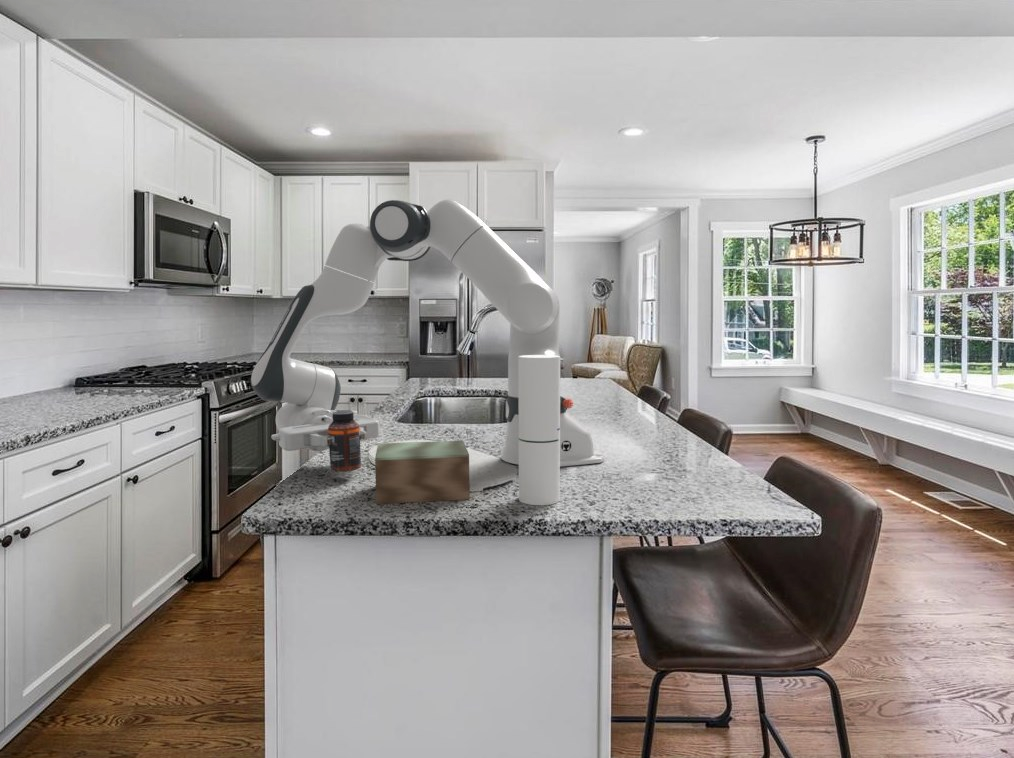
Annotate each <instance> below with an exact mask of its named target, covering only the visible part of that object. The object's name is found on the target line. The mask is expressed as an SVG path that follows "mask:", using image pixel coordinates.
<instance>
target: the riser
mask: <svg viewBox="0 0 1014 758" xmlns="http://www.w3.org/2000/svg"><path fill="white" fill-rule="evenodd" d="M374 456H375V457H374V462H375V463H374V464H375V465H374V467H375V469H374V470H375V471H374V472H375V500H376V501H375V502H376V505H379V504H398V503H399V504H400V503H401V504H402V503H403V504H405V503H420V502H421V503H422V502H423V503H424V502H439V501H440V502H441V501H443V502H444V501H460V500H461V501H462V500H470V489H471V488H470V487H471V486H470V453H469V451H468V449H467V447H466V444H465V442H464V440H444V441H443V440H441V441H440V440H439V441H437V440H436V441H416V442H415V441H412V442H411V441H410V442H387V443H386V442H384V443H382V442H381V443H377V447H376V451H375V455H374Z"/></svg>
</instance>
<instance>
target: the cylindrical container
mask: <svg viewBox="0 0 1014 758" xmlns="http://www.w3.org/2000/svg"><path fill="white" fill-rule="evenodd" d="M518 381H519V464H518V500H519V502H520V503H523V504H526V505H531V506H548V505H554V504H557V503H558V502H560V500H561V499H560V497H561V496H560V495H561V493H560V492H561V490H560V488H561V487H560V486H561V485H560V483H561V482H560V481H561V473H560V472H561V470H560V469H561V467H560V396H561V355H559V356H556V355H523V356H518Z"/></svg>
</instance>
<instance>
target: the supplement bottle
mask: <svg viewBox="0 0 1014 758" xmlns="http://www.w3.org/2000/svg"><path fill="white" fill-rule="evenodd" d="M353 418H354V414H353V411H338V412H334V413H333V418H332V419H333V422H332V423H331V424H330V425H329V427H328V435H329V436H331V437H332V441H331V442H332V445H331V446H329V449H328V451H329V465H330V466H329V468H330V470H332V471H334V472H338V473H345V472H352V471H356V470H358V469H360V468H361V467H362V452H361V451H362V450H361V441H360V432H359V424H358V423H357V422H355V421H354V419H353Z"/></svg>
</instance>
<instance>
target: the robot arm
mask: <svg viewBox="0 0 1014 758" xmlns="http://www.w3.org/2000/svg"><path fill="white" fill-rule="evenodd" d="M431 248H434V249H436V250H438V251H439V252H440V253H442V254H443V255H444V256H445V257H446V258H447V260H448V261H449V262H450V263H451V264H453V265H454V267H455V268H457V269H458V270H459V271H460V272H461V274H463V275H464V277H466V278H467V280H469V281H470V282H471V283H472V284H473V285H474V286H475V287H476V288H477V289H478V290H479V292H480V293H481V294H482V295H483V296H484V297H485V298H486V299H487V300H488V301H489V303H491V305H492V306H493V307H495V309H496V310H497V311H498V312H499V313H500V314H501V315H502V316H503V318H505V319H506V320H507V322H509V323H510V324H509V325H510V327H509V345H508V346H509V347H508V359H507V360H508V361H507V369H508V370H507V372H508V373H507V382H508V383H507V384H508V385H507V387H508V388H507V389H508V392H507V395H506V401H505V418H506V421H507V425H506V435H505V440H504V446H503V451H502V454H501V457H500V459H501V460H503V462H506V463H510V464H514V465H519V381H518V356H523V355H556V356H560V352H559V351H560V301H559V298H558V295H557V294H556V291H554V289H552V288H551V287H550V286H549V285H548V284H547V283H546V282H545V281H544V280H543V279H542V278H541V277H540V276H539V275H538V274H537V273H536V272H535V271H534V270H533V269H532V268H531V267H530V266H529V265H528V264H527V263H526V262H525V261H524V260H523V259H522V258H521V257H520V256H519V255H518V254H517V253H516V252H514V251H515V250H513V249H511V247H510V246H509V245H508V244H507V243H505V241H503V240H502V238H501V237H499V235H498V234H496V233H495V232H494V231H493V230H492V229H491V228H490V227H489V226H488V225H487V224H486V223H485V222H484V221H483V220H482V219H480V218H479V217H478V216H477V215H476V214H475V213H474V212H472V211H471V210H470V209H469V208H467V207H465V206H464V205H463V204H461V203H459V202H458V201H456V200H454V199H452V198H451V199H450V198H448V199H447V198H446V199H444V200H440V201H439V202H437V203H436V204H434V205H432V207H431V208H430V209H429V210H426V208H425V207H424V206H422V205H418V204H415V203H411V202H408V201H404V200H397V199H396V200H395V199H393V200H391V199H389V200H386V201H384V202H381V203H379V204H378V205H377V206H376V207H375V208H374V210H373V211H372V213H371V216H370V220H369V225H366V224H362V223H350V224H347V225H345V226H343V227H342V228H341V230H340V232H339V233H338V235H337V237H336V239H335V240H334V242H333V244H332V246H331V248H330V250H329V253H328V256H327V259H326V260H325V263H324V267H323V269H322V271H321V273H320V274H319V276H318V277H317V278H316V280H315V281H314V282H312V283H311V284H309V285H304V286H303V287H301V289H300V290H299V291H298V292H297V294H296V295H295V297H294V298H293V300H292V302H291V303H290V305H289V307H288V309H287V310H286V312H285V314H284V315H283V318H282V320H281V322H280V323H279V325H278V327H277V329H276V331H275V332H274V334H273V336H272V338H271V340H270V342H269V344H268V346H267V347H266V349H265V350H264V352H263V353H262V354H261V356H260V358H259V359H258V361H257V362H256V364H255V366H254V367H253V370H252V373H251V378H250V386H251V387H252V388H251V389H253V391H254V393H255V394H256V395H257V396H258V397H259V398H260V399H261V400H262V401H265V402H266V401H267V402H275V403H277V402H278V403H279V402H281V403H285V405H282V407H280V408H279V409H278V411H277V413H276V415H275V425H276V428H277V430H278V432H276V433H275V434H271V439H272V440H273V441H277V442H278V444H279V447H280V448H281V449H282V450H285V451H288V452H289V451H290V452H291V451H292V452H293V451H299V450H305V449H308V450H311V451H315V452H323V451H327V450H329V446H331V445H332V442H331V441H332V437H331V436H329V435H328V427H329V425H330V424H331V423H332V422H333V419H332V418H333V413H334V412H338V411H353V414H354V418H353V419H354V421H355V422H357V423H358V424H359V432H360V442H363V441H367V440H370V439H377V438H379V437H380V433H381V432H380V431H381V430H380V429H381V428H380V421H379V420H378V419H376V418H373V417H371V416H369V415H364V414H358V411H357V410H353V409H352V410H351V409H349V410H348V409H346V410H345V409H342V410H341V409H340V410H336V408H337V406H338V404H339V400H340V396H341V383H340V380H339V377H338V375H337V373H336V371H335V370H334V369H333V368H332V367H328V366H326V365H325V366H324V365H321V364H319V363H318V364H317V363H311V362H307V361H303V360H299V359H296V358H291V357H290V356H291V354H292V353H293V351H294V348H295V347H296V345H297V343H298V341H299V339H300V337H301V335H302V333H303V331H304V329H305V328H306V326H307V325H308V324H309V323H310V322H312V321H313V320H315V319H318V318H321V317H327V316H339V315H341V316H342V315H347V314H351V313H354V312H355V311H358V310H360V309H361V308H362V307H364V306H365V305H366V303H367V301H368V300H369V297H370V296H371V293H372V290H373V288H374V283H375V281H376V278H377V275H378V272H379V270H380V267H381V266H382V264H383V263H384V261H386V260H388V261H393V262H394V261H402V262H412V261H417V260H420V259H422V258H423V257H425V256H426V255H427V254H428V252H429V251H430V249H431ZM573 407H574V401H573V400H572V399H570V398H569V397H567V398H566V397H564V396H561V395H560V468H561V467H569V466H579V465H589V464H590V465H591V464H601V463H603V462H604V454H603V453H602V452H601V451H600V450H598V449H597V448H594V447H595V446H594V443H593V442H594V441H593V437H592V434H591V432H590V430H589V428H587V427H586V426H585V425H584V424H583V423H581V422H580V421H579V420H578V419H576V418H575V417H574V416H572V415H571V414H570V413H569V412H567V410H568V409H572V408H573Z"/></svg>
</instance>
